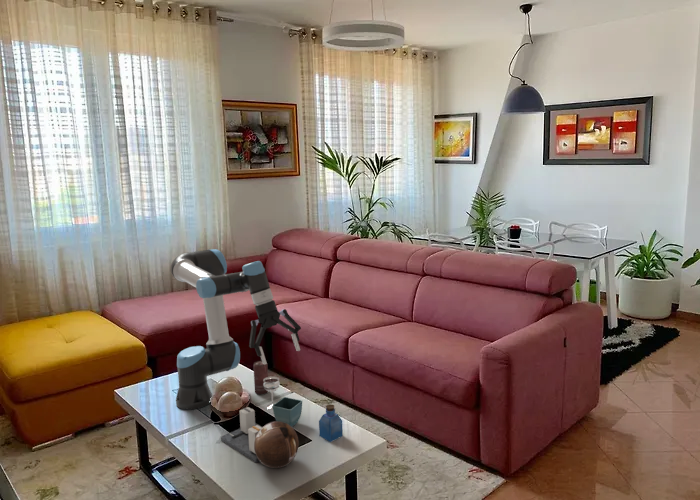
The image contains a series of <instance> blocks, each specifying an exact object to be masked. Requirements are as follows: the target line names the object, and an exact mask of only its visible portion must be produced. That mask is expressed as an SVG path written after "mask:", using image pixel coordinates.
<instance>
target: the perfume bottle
mask: <svg viewBox="0 0 700 500" xmlns="http://www.w3.org/2000/svg"><path fill="white" fill-rule="evenodd" d="M343 430H344V429H343V419H342V418H341V417H340V415H339V414H337V413H336V408H335V405H334V404H327V405H326V406H325V413H324V414H322V415H321V417H320V418H319V420H318V432H319V437H320V438H322V439H323V440H326V441H328V443H331V442H334V441H336V440H338V439H339V437H340V438H341V437H343V435H344V433H343Z"/></svg>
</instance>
